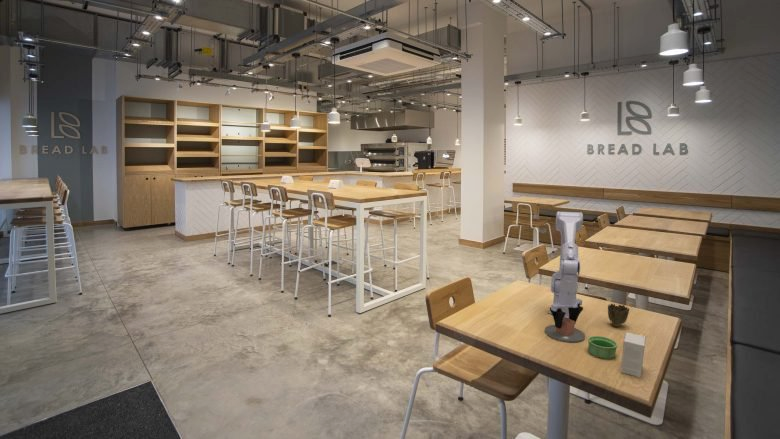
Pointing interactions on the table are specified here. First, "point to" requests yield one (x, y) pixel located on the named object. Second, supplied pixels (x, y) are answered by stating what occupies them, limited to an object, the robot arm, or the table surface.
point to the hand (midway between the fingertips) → (565, 325)
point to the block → (566, 327)
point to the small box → (633, 354)
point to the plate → (572, 338)
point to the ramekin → (602, 347)
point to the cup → (617, 314)
